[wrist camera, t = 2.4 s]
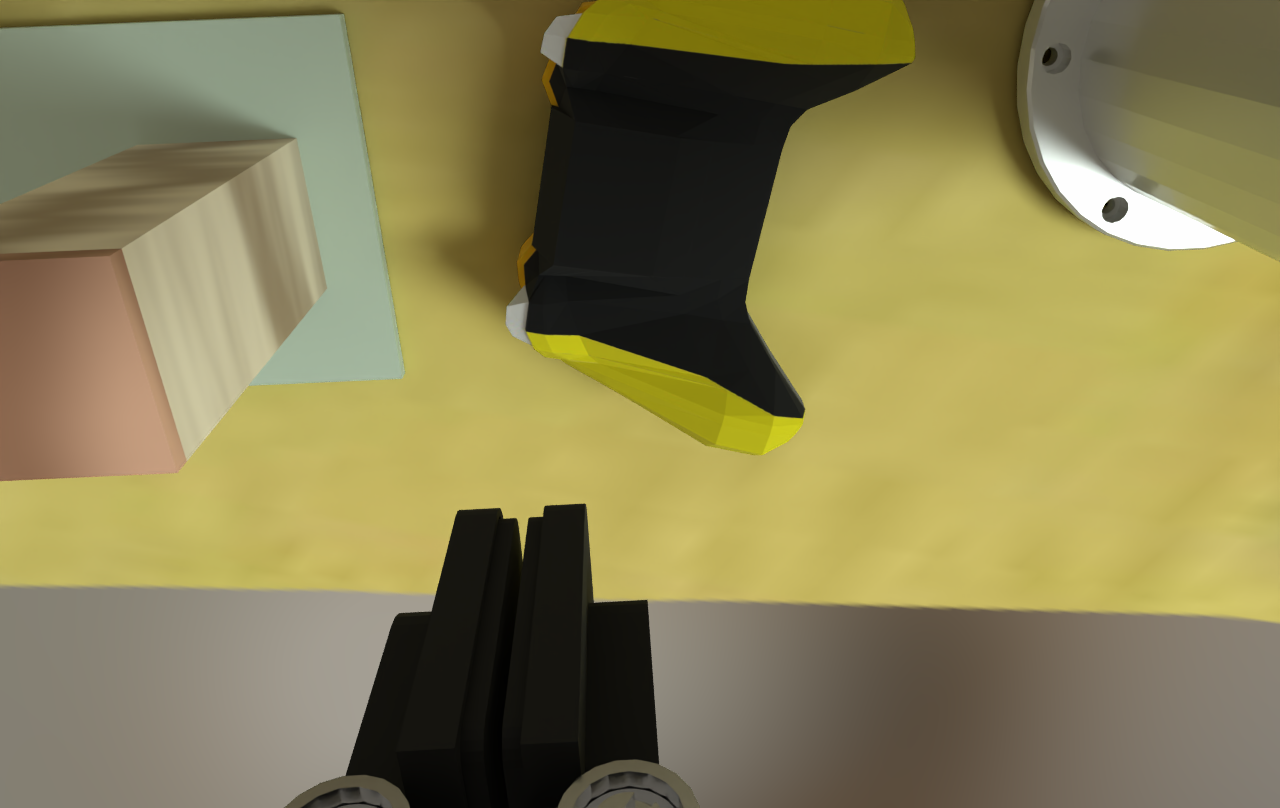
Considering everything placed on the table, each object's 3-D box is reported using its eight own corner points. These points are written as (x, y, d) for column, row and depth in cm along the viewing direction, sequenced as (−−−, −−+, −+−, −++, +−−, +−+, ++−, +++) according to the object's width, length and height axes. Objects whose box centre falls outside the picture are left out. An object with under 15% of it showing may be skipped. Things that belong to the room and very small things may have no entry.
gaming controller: (893, -27, 28) (566, -97, 26) (954, -19, 23) (557, -106, 22) (769, 406, 34) (504, 364, 33) (796, 484, 29) (486, 438, 28)
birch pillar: (296, 138, 29) (109, 256, 18) (327, 288, 31) (177, 472, 20) (136, 144, 29) (-147, 267, 18) (179, 295, 31) (-49, 483, 20)
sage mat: (343, 13, 27) (339, 15, 27) (405, 372, 33) (402, 378, 32) (-324, 41, 27) (-339, 42, 27) (-151, 397, 33) (-162, 404, 32)
